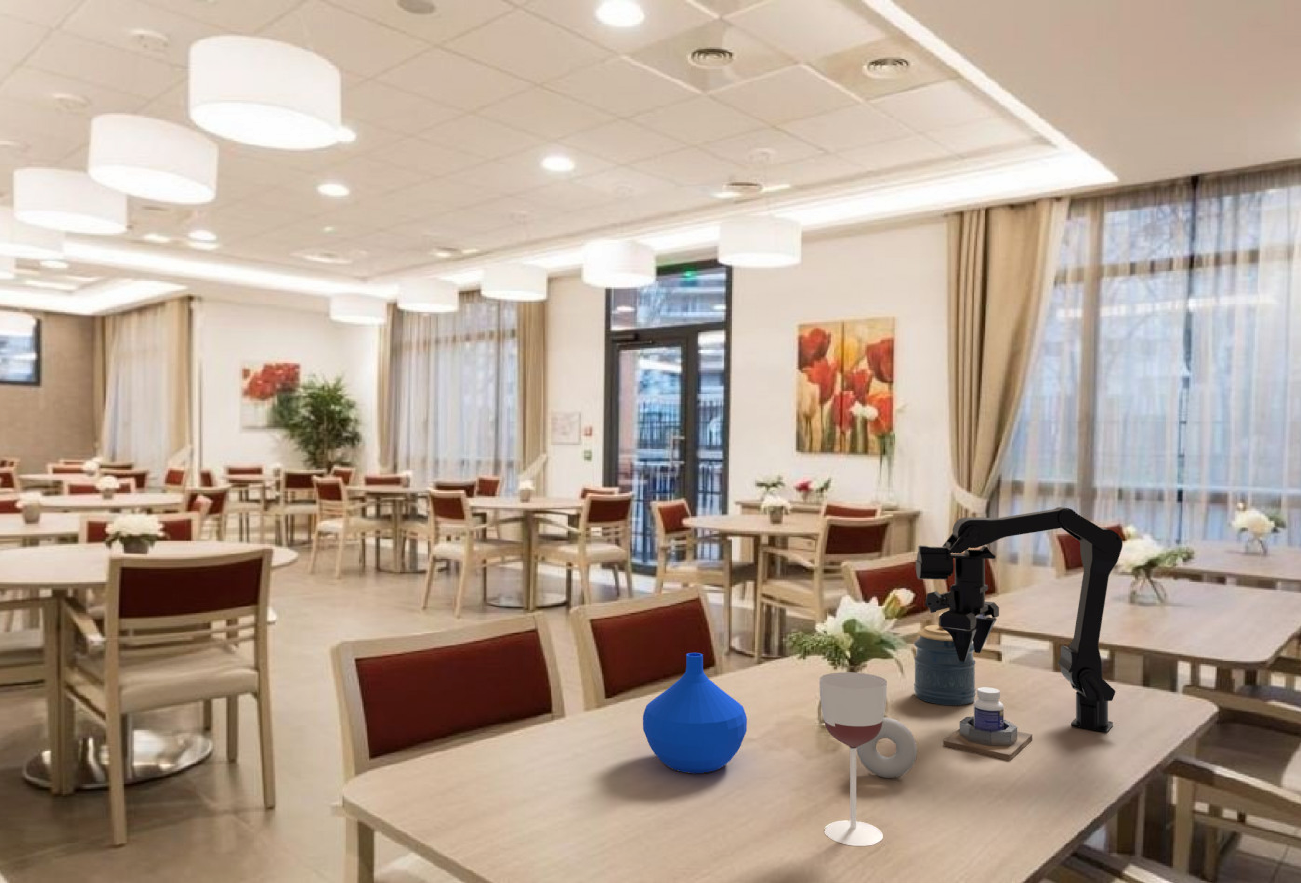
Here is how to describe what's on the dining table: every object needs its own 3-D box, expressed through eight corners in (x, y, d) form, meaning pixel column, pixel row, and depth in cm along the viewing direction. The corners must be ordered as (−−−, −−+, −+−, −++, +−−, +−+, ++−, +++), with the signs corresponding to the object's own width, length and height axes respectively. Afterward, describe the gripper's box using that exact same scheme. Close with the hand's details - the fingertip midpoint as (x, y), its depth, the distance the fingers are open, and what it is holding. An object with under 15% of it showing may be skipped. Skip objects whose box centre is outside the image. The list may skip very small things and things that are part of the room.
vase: (760, 754, 157) (760, 648, 157) (726, 790, 140) (725, 672, 140) (668, 740, 165) (667, 639, 165) (624, 773, 148) (624, 661, 148)
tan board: (968, 727, 172) (968, 721, 172) (1032, 739, 165) (1032, 734, 165) (943, 745, 161) (943, 740, 161) (1010, 760, 154) (1010, 754, 154)
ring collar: (971, 726, 169) (971, 713, 169) (1021, 736, 164) (1021, 722, 164) (954, 738, 162) (954, 725, 162) (1006, 749, 156) (1006, 735, 156)
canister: (984, 706, 186) (984, 624, 186) (924, 706, 186) (923, 624, 186) (963, 689, 199) (963, 612, 199) (907, 689, 199) (906, 612, 199)
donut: (917, 777, 146) (917, 717, 146) (916, 784, 143) (916, 724, 143) (857, 770, 149) (856, 711, 149) (854, 777, 146) (854, 717, 146)
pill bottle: (1006, 742, 160) (1006, 694, 160) (976, 741, 161) (976, 693, 161) (1000, 733, 165) (1000, 686, 165) (971, 731, 166) (971, 685, 166)
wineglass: (812, 821, 129) (812, 673, 129) (875, 818, 130) (874, 671, 130) (829, 848, 120) (829, 689, 120) (896, 845, 121) (896, 687, 121)
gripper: (946, 571, 188) (947, 643, 188) (913, 581, 174) (913, 659, 174) (999, 576, 181) (999, 650, 181) (969, 587, 167) (969, 668, 167)
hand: (970, 657), depth 176 cm, fingers open, 9 cm apart
